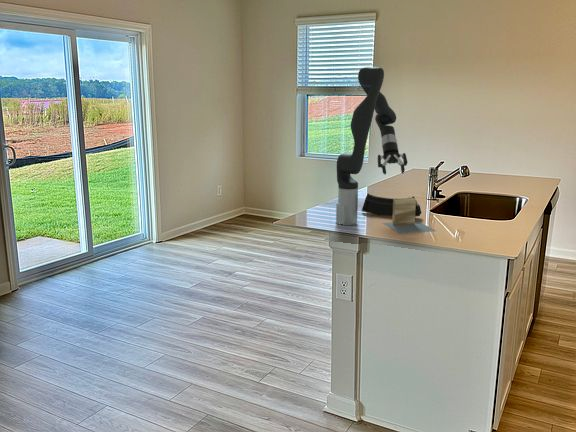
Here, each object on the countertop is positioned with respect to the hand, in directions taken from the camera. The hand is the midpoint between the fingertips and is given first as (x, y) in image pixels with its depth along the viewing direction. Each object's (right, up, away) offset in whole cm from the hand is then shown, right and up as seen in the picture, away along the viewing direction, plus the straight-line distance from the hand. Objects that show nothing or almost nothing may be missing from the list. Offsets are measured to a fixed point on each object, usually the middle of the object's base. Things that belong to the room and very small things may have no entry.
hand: (394, 173), depth 252 cm
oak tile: (+2, -25, -10) cm, 27 cm away
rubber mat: (+4, -26, -15) cm, 31 cm away
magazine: (0, -21, +8) cm, 23 cm away
